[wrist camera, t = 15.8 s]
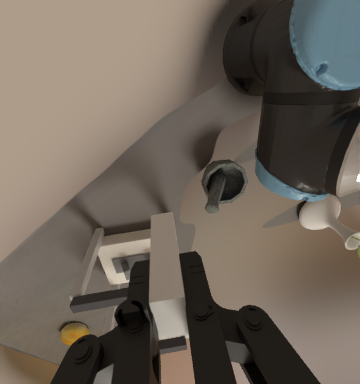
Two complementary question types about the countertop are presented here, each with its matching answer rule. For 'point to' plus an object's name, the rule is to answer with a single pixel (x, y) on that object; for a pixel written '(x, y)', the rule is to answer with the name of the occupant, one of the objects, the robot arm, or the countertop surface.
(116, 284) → the white grey open frame
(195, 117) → the countertop surface
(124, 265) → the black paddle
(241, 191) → the mortar and pestle
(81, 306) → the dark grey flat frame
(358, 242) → the flower in vase
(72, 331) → the bread roll
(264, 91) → the robot arm
